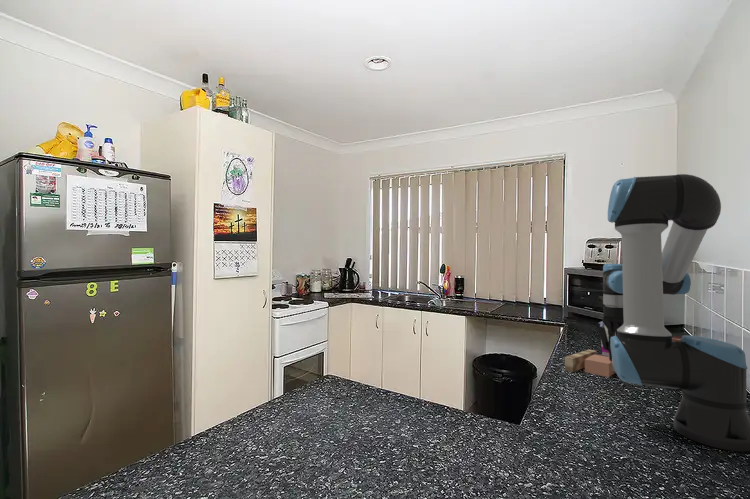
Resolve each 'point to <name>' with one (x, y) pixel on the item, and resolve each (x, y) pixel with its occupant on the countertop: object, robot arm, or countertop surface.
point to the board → (577, 360)
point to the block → (599, 365)
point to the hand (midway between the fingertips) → (616, 370)
